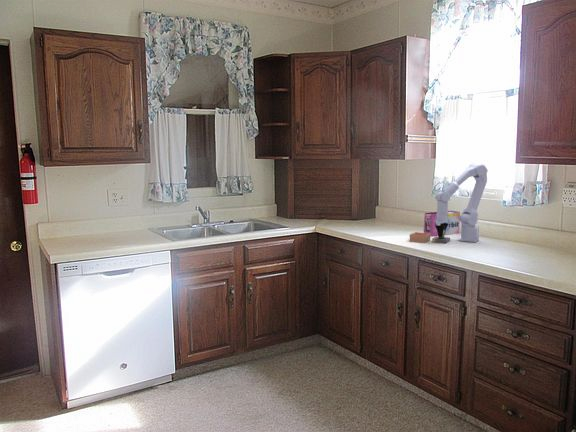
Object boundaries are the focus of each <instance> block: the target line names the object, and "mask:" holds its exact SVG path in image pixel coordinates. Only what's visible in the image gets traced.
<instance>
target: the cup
mask: <svg viewBox="0 0 576 432" xmlns="http://www.w3.org/2000/svg"><path fill="white" fill-rule="evenodd" d="M431 237H432V236H431V234H430V233H424V232H417V231H414V232H412V233H410V234H409V242H412V243H422V244H426V243H429V242H430V241H431Z"/></svg>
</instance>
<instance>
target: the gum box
mask: <svg viewBox="0 0 576 432" xmlns="http://www.w3.org/2000/svg"><path fill="white" fill-rule="evenodd" d="M460 215H461V212H460V211H455V210H448V213H447V221H448V222H446V223H448V226H447V228H446V231H445V235H444V236H447V235H448V236H449V235H457V234H460V223H461V221H460ZM435 220H437V211H433V212H431V211H429V212H424V220H423V233H430V234H431V236H430V237H436V236H437V237H438V232H437V229H436V227H435V224H436V221H435Z"/></svg>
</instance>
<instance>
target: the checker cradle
mask: <svg viewBox="0 0 576 432" xmlns="http://www.w3.org/2000/svg"><path fill="white" fill-rule="evenodd" d="M431 242H432V243H439V244H448V243H449V242H451V237H449V236H448V237H446V236H444V239H438V236H433V237H432V239H431Z"/></svg>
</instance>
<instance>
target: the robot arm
mask: <svg viewBox="0 0 576 432" xmlns="http://www.w3.org/2000/svg"><path fill="white" fill-rule="evenodd" d="M472 177H473V179H474V180H475V185H474V187H473V190H472V192H471V196H470V197H469V201H468V204H467V206H466V207H465V209H463V212H462V213H460V223H461V226H460V227H461V228H460V229H461V231H460V239H458V241H460V242H469V243H470V242H471V243H477V242H478V241H480V240H479V239H480V226H478V225H476V224H477V223H478V219H479V218H478V216H479V212H478V207H479V205H480V202H481V200H482V196H483V193H484V191H485V189H486V186H487V182H488V168H487V167H486V165H484V164H483V163H479V164H477V163H471V164H469V165H468V166H467V167H465V170H463V172H462V173H461V174H460V175H459V176H458V177H457V178H456V179H455V180H454V181H450V182H448V183H447V184H446V186H445V187H444V188H442V189H441V191H438V192H437V194H436V196H435V199H436V201H437V203H436V206H437V208H436V212H437V220H435V221H436V224H435V227H436V229H437V232H438V236H437V237H442V236H443V232H445V231H446V228H447V226H448V223H446V222H448V221H447V213H448V211H449V210H448V209H449V206H448V204H449V201H450V200H451V197H452V196H453V195H454V194H455V193H456V192H457V191H458V190H459V187H460V186H461V185H462V184H463V183H464V182H466V181H467V180H468V179H469V178H472ZM444 230H445V231H444ZM444 236H446V235H445V233H444Z"/></svg>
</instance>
